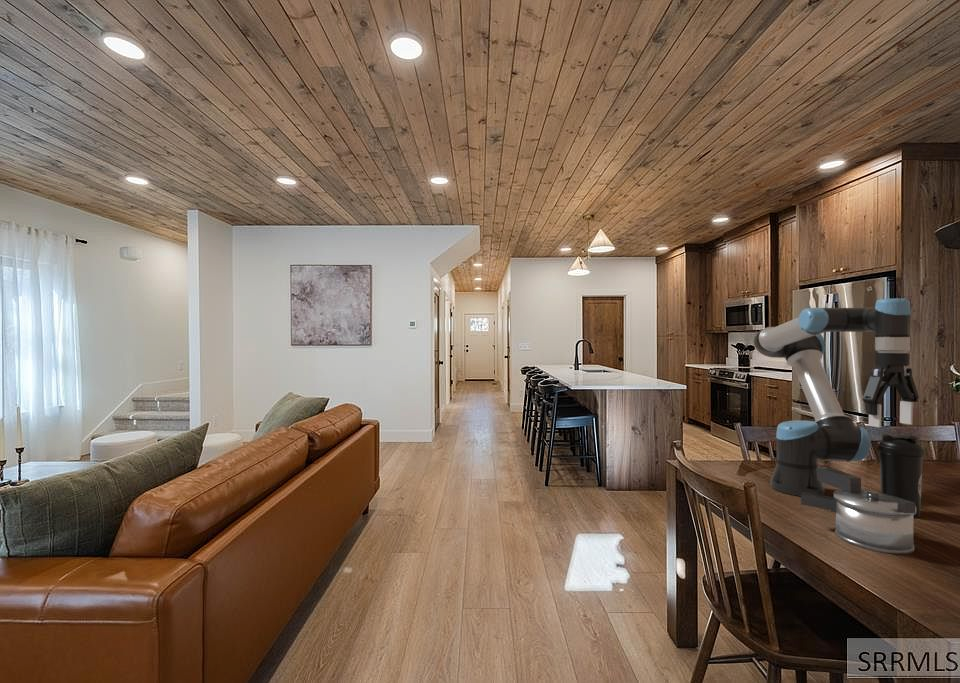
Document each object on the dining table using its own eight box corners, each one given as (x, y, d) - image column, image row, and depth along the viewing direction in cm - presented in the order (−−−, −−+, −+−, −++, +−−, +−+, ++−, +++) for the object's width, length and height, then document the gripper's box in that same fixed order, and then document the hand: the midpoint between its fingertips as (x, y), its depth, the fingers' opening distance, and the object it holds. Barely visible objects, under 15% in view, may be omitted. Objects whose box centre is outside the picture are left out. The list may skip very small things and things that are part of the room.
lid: (941, 517, 107) (941, 495, 107) (878, 519, 106) (878, 496, 106) (847, 483, 133) (848, 466, 133) (795, 484, 132) (796, 466, 132)
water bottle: (928, 521, 129) (929, 440, 129) (881, 514, 134) (881, 436, 134) (918, 510, 137) (918, 434, 137) (874, 503, 143) (874, 430, 143)
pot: (912, 539, 117) (912, 504, 117) (916, 560, 105) (916, 522, 105) (804, 516, 132) (805, 485, 132) (797, 533, 120) (798, 499, 120)
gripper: (904, 351, 139) (903, 420, 139) (847, 352, 131) (846, 425, 132) (935, 352, 132) (934, 424, 132) (877, 353, 124) (876, 430, 124)
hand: (890, 425), depth 132 cm, fingers open, 13 cm apart
